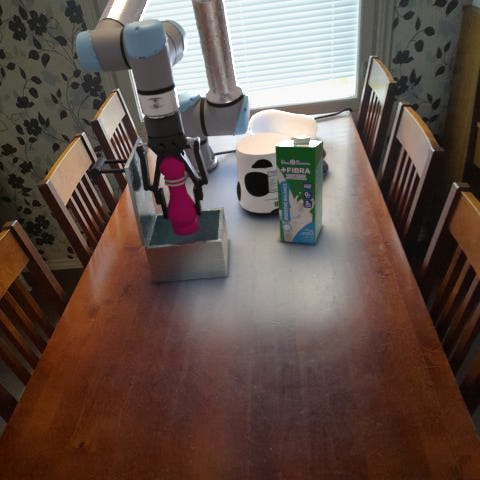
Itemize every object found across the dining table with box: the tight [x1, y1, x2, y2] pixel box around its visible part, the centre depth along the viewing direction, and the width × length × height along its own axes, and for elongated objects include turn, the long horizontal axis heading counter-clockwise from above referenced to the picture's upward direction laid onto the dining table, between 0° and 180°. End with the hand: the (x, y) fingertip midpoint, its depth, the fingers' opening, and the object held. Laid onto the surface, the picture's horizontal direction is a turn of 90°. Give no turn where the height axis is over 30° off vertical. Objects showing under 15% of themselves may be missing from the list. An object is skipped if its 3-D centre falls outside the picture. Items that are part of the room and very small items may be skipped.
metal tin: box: [144, 207, 229, 283], centre depth 112 cm, size 18×16×10 cm
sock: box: [248, 109, 319, 141], centre depth 164 cm, size 25×10×14 cm
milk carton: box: [275, 136, 324, 245], centre depth 111 cm, size 9×9×25 cm
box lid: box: [90, 137, 156, 248], centre depth 103 cm, size 19×16×10 cm
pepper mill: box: [159, 157, 199, 236], centre depth 102 cm, size 7×7×20 cm
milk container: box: [235, 132, 291, 215], centre depth 127 cm, size 17×17×18 cm
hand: (183, 214), depth 106 cm, fingers closed on pepper mill, 7 cm apart
